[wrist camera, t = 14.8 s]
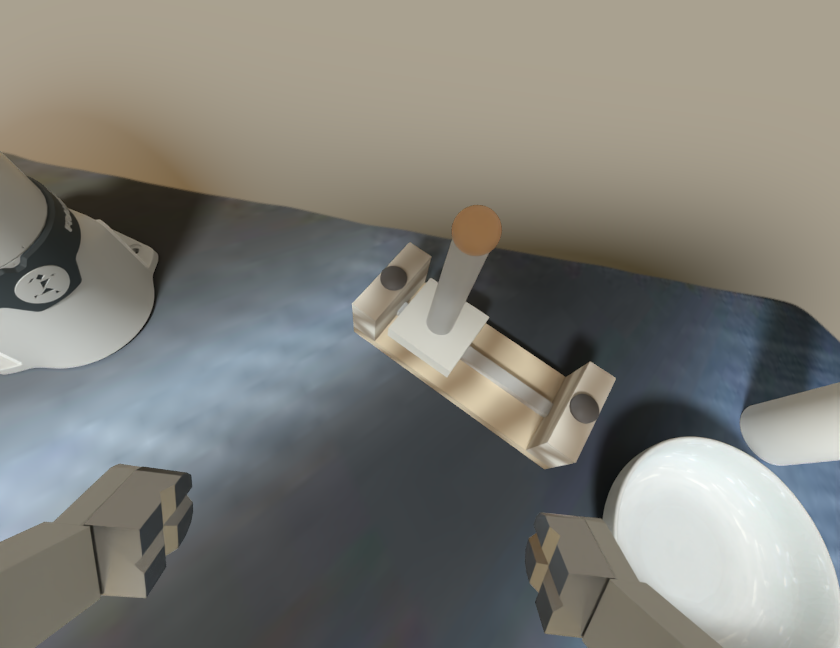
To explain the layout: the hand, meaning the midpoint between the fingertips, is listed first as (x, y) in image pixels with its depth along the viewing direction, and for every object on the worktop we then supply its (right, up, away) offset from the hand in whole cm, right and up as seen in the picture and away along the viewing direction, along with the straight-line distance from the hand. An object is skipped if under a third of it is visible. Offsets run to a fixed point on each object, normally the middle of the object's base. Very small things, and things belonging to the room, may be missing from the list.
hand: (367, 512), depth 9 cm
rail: (+7, 0, +37) cm, 37 cm away
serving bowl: (+27, -19, +31) cm, 46 cm away
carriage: (+3, +4, +35) cm, 35 cm away
